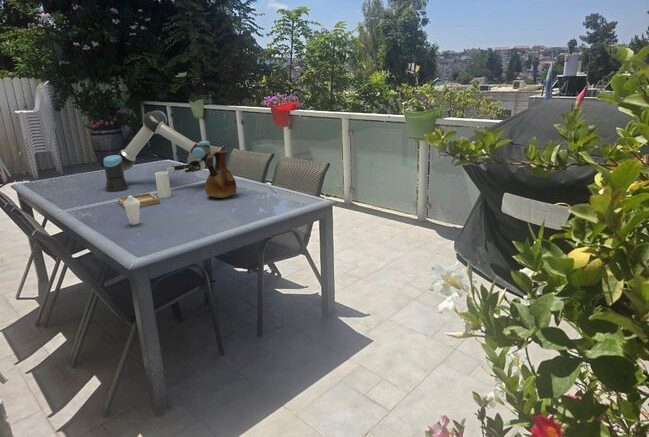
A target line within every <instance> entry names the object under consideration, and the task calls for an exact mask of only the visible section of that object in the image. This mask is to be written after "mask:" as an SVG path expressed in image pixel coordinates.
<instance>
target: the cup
mask: <svg viewBox="0 0 649 437" xmlns="http://www.w3.org/2000/svg"><path fill="white" fill-rule="evenodd" d="M154 176H155V183H156V191H157V198H158V199H166V198H171V197H172V191H171V184H170V176H169V172H167V171H158V172H155V173H154Z"/></svg>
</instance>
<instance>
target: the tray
mask: <svg viewBox="0 0 649 437" xmlns="http://www.w3.org/2000/svg"><path fill="white" fill-rule="evenodd" d="M131 196H132V197H133V198H135V199H137V200H139V202H140V206H139V207H140V208H143V207H148V206H155V205H159V204H160V203H161V202H160V198H159V197H158V196H156V195H154V194H152V193H151V192H148V193H141V194H136V195H131ZM128 197H129V195H128V196H123V197H118V198H117V202H118V204H119V205H120V206H121V207H123V209H125V207H124V204H123V203H124V202H125V201H126V199H127V198H128Z"/></svg>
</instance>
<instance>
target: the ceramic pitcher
mask: <svg viewBox="0 0 649 437" xmlns="http://www.w3.org/2000/svg"><path fill="white" fill-rule="evenodd" d="M228 154H229V151H227V150H226V151H223V150H222V151H215V150H214V151H213V150H212V151H211V153H210V154H209V155H208V157H207V166H208V168H207V169H208V172H209V174H208V176H207V177H206V181H205V184H204V191H205V194H206V195H207V196H210V197H212V198H216V199H217V198H219V199H220V198H221V199H222V198H223V199H224V198H228V197H230V196H233V195H235V194H236V192H237V183H236V182H237V181H236V180H235V177H234V175H233V174H232V172H231V171H230V170H229V169H228V168H227V166H226V156H227V155H228ZM213 158H214V160H215V166H213ZM214 167H215V168H214Z"/></svg>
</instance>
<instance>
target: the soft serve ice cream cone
mask: <svg viewBox="0 0 649 437" xmlns="http://www.w3.org/2000/svg"><path fill="white" fill-rule="evenodd" d="M128 196H129V197H128ZM128 196H127V197H128V198H127V199H126V201H125V202H124V203H123V204H124V207H125V208H124V207H123V208H124V209H125V213H126V216H127V218H128V220H129V224H130V225H133V226H134V225H138V224H140V214H141V212H140V208H141V207H139V206H140V202H139V200H137V199H135V198H133V197H132V196H133V195H130V194H129V195H128Z"/></svg>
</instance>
